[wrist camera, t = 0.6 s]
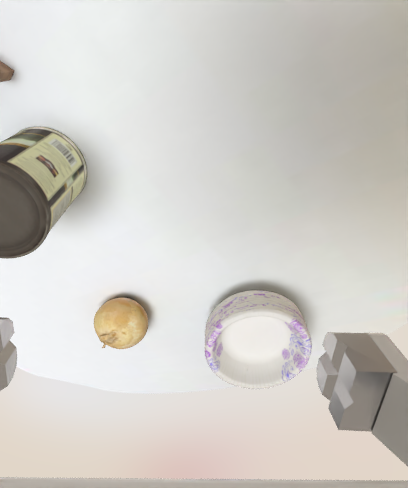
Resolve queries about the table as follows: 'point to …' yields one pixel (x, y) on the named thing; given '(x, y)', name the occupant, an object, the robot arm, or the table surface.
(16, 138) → the coffee can
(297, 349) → the paper bowls
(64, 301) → the table surface
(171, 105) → the table surface
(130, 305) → the onion
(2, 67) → the caddy
